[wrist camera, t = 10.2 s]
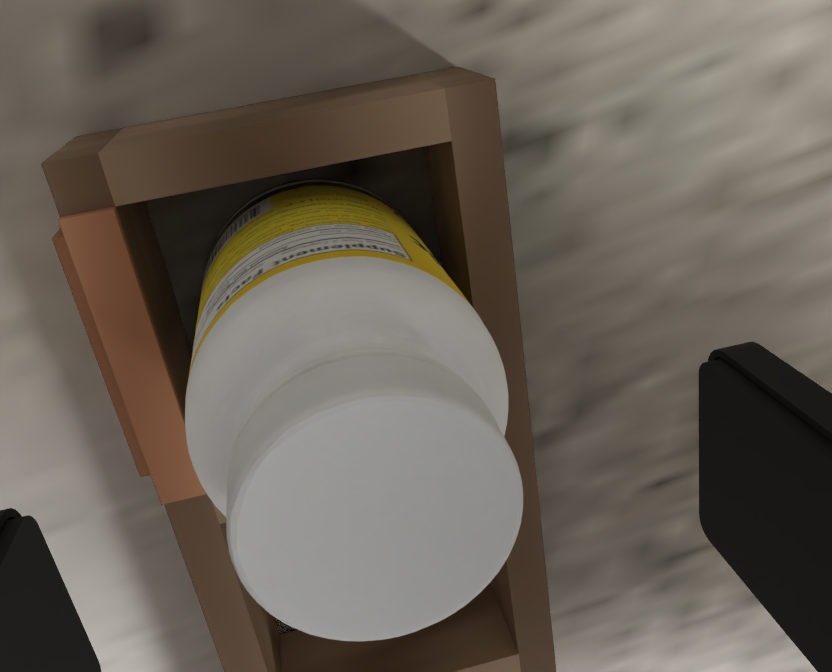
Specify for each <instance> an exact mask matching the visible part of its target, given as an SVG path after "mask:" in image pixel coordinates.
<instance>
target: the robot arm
mask: <svg viewBox="0 0 832 672" xmlns="http://www.w3.org/2000/svg"><path fill="white" fill-rule="evenodd" d="M699 515H700V521H701V525H702V528H703V531H704V533H705V535H706V537H707V538H708V539H709V541H710V542H711V543H712V545H713V546H714V547H715V548H716V549H717V551H718V552H719V553H720V554H721V555H722V557H723V558H724V559H725V560H726V561H727V563H728V564H729V565H730V566H731V567H732V569H733V570H734V571H735V572H736V574H737V575H738V576H739V577H740V578H741V580H742V581H743V582H744V583H745V584H746V586H747V587H748V588H749V589H750V590H751V592H752V593H753V594H754V595H755V596H756V598H757V599H758V600H759V601H760V602H761V604H762V605H763V606H764V607H765V609H766V610H767V611H768V612H769V613H770V615H771V616H772V617H773V618H774V619H775V621H776V622H777V623H778V624H779V625H780V627H781V628H782V629H783V630H784V631H785V633H786V634H787V635H788V636H789V637H790V639H791V640H792V641H793V642H794V644H795V645H796V646H797V647H798V648H799V650H800V651H801V652H802V653H803V654H804V656H805V657H806V658H807V659H808V660H809V662H810V663H811V664H812V665H813V666H814V668H815V669H816V670H817V671H818V672H832V394H831V393H830V392H828V391H827V390H825V389H824V388H822V387H821V386H819V385H818V384H816V383H815V382H814V381H812V380H811V379H809V378H808V377H806V376H805V375H803V374H802V373H800V372H799V371H797V370H796V369H794V368H793V367H791V366H790V365H789V364H787V363H786V362H784V361H783V360H781V359H780V358H778V357H777V356H775V355H774V354H772V353H771V352H769V351H768V350H767V349H765V348H764V347H762V346H761V345H759V344H757V343H755V342H748V343H743V344H739V345H734V346H730V347H726V348H721V349H717V350H714V351H713V352H711V354H710V356H709V359H708V362H704V363H702V364H701V366H700V369H699ZM0 672H101V668H100V664H99V661H98V659H97V656H96V654H95V652H94V650H93V647H92V645H91V643H90V641H89V638H88V636H87V634H86V632H85V629H84V627H83V625H82V623H81V620H80V618H79V616H78V614H77V611H76V609H75V607H74V605H73V602H72V600H71V598H70V596H69V593H68V591H67V589H66V586H65V584H64V582H63V580H62V577H61V575H60V573H59V571H58V568H57V566H56V564H55V562H54V559H53V557H52V555H51V553H50V550H49V548H48V546H47V544H46V541H45V539H44V537H43V535H42V532H41V530H40V528H39V526H38V524H37V522H36V520H35V519H34V518H33V517H32V516H29V515H28V516H24V517H22V516H21V515H20V514H19V513H18V512H17V511H16V510H15V509H12V508H10V509H5V510H1V511H0Z"/></svg>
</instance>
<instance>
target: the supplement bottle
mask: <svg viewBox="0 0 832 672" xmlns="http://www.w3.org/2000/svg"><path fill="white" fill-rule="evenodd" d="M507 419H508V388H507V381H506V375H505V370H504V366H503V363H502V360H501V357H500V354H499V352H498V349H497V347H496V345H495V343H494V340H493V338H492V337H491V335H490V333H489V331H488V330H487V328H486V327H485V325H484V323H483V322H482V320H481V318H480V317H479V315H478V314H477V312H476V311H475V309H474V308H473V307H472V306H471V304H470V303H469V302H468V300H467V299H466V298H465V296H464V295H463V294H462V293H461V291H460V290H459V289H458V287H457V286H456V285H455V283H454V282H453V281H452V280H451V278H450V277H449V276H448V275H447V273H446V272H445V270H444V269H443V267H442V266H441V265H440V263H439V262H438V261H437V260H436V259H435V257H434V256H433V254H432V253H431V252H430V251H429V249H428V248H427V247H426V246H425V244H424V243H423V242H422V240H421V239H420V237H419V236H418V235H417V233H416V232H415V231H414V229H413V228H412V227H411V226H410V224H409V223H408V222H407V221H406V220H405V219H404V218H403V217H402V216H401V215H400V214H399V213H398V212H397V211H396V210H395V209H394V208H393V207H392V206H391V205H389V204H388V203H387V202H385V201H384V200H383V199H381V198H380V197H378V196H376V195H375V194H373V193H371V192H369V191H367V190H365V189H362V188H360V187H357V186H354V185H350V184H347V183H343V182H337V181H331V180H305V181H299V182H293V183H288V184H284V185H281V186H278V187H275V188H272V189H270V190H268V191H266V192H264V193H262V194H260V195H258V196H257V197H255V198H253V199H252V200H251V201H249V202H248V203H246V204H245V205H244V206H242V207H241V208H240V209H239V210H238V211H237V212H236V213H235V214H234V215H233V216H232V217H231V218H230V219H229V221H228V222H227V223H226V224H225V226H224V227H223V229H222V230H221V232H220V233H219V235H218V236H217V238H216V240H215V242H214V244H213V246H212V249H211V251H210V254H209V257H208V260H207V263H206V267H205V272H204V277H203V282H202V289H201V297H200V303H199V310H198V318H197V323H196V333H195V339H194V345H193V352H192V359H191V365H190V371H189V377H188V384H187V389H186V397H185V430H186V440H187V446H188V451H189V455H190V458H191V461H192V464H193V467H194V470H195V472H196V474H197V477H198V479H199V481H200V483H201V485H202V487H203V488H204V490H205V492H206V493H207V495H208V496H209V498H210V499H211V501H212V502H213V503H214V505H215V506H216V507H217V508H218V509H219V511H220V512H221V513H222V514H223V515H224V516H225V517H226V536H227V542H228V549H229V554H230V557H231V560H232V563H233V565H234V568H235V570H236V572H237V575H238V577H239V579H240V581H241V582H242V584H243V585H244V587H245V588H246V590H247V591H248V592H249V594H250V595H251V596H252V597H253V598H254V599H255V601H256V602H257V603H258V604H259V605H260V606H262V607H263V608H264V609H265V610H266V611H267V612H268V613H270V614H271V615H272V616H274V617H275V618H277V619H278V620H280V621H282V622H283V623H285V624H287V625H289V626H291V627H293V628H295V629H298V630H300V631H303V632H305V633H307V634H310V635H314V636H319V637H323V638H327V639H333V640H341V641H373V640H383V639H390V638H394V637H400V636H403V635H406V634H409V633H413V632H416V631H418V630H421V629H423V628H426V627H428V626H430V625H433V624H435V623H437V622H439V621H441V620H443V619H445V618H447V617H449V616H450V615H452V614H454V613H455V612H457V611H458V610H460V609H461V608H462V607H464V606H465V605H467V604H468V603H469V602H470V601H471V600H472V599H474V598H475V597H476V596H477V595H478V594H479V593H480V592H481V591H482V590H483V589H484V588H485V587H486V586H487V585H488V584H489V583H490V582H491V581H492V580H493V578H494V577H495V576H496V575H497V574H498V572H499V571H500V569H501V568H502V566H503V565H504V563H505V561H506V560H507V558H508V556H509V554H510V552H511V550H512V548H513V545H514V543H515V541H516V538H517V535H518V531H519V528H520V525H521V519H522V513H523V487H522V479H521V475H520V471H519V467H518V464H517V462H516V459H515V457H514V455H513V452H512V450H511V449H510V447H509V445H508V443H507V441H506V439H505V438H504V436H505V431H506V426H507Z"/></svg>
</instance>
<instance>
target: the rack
mask: <svg viewBox="0 0 832 672" xmlns="http://www.w3.org/2000/svg"><path fill="white" fill-rule="evenodd" d="M423 146H425V148H426V155H427V162H428V169H429V176H430V183H431V190H432V197H433V203H434V210H435V217H436V224H437V231H438V238H439V245H440V251H441V258H442V265H443V269H444V270H445V272H446V273H447V275H448V276H449V277H450V278H451V280H452V281H453V282H454V283H455V285H456V286H457V287H458V289H459V290H460V291H461V293H462V294H463V295H464V296H465V298H466V299H467V300H468V302H469V303H470V304H471V306H472V307H473V308H474V309H475V311H476V312H477V314H478V315H479V317H480V318H481V320H482V322H483V323H484V325H485V327H486V328H487V330H488V331H489V333H490V335H491V337H492V338H493V340H494V343H495V345H496V347H497V349H498V352H499V354H500V357H501V360H502V363H503V366H504V370H505V375H506V381H507V388H508V419H507V426H506V431H505V436H504V438H505V439H506V441H507V443H508V445H509V447H510V449H511V450H512V452H513V455H514V457H515V459H516V462H517V464H518V467H519V471H520V475H521V479H522V487H523V513H522V519H521V525H520V528H519V531H518V535H517V538H516V541H515V543H514V545H513V548H512V550H511V552H510V554H509V556H508V558H507V560H506V561H505V563H504V565H503V566H502V568H501V569H500V571H499V572H498V574H497V575H496V576H495V577H494V578H493V580H492V581H491V582H490V583H489V584H488V585H487V586H486V587H485V588H484V589H483V590H482V591H481V592H480V593H479V594H478V595H477V596H476V597H475V598H474V599H472V600H471V601H470V602H469V603H468V604H467V605H465V606H464V607H462V608H461V609H460V610H458V611H457V612H455V613H454V614H452V615H450V616H449V617H447V618H445V619H443V620H441V621H439V622H437V623H435V624H433V625H430V626H428V627H426V628H423V629H421V630H418V631H416V632H413V633H409V634H406V635H403V636H400V637H394V638H390V639H383V640H373V641H341V640H333V639H327V638H323V637H319V636H314V635H310V634H307V633H305V632H303V631H300V630H294V631H290V632H287V633H283V634H279V631H278V628H277V624H276V621H275V618H274V616H272V615H271V614H270V613H268V612H267V611H266V610H265V609H264V608H263V607H262V606H260V605H259V604H258V603H257V602H256V601H255V599H254V598H253V597H252V596H251V595H250V594H249V592H248V591H247V590H246V588H245V587H244V585H243V584H242V582H241V581H240V579H239V577H238V575H237V572H236V570H235V568H234V565H233V563H232V560H231V557H230V554H229V549H228V542H227V536H226V517H225V516H224V515H223V514H222V513H221V512H220V511H219V509H218V508H217V507H216V506H215V505H214V503H213V502H212V501H211V499H210V498H209V496H208V495H207V493H206V492H205V490H204V488H203V487H202V485H201V483H200V481H199V479H198V477H197V474H196V472H195V470H194V467H193V464H192V461H191V458H190V455H189V451H188V446H187V440H186V430H185V397H186V389H187V384H188V377H189V371H190V365H191V359H192V350H191V347H190V343H189V340H188V337H187V334H186V330H185V327H184V324H183V321H182V318H181V314H180V311H179V308H178V305H177V301H176V298H175V295H174V292H173V288H172V285H171V282H170V279H169V276H168V272H167V269H166V266H165V263H164V259H163V256H162V253H161V250H160V246H159V243H158V240H157V237H156V234H155V230H154V227H153V224H152V221H151V217H150V214H149V211H148V208H147V204H146V200H152V199H157V198H162V197H167V196H172V195H177V194H182V193H187V192H193V191H198V190H203V189H208V188H213V187H218V186H223V185H229V184H234V183H239V182H244V181H249V180H254V179H259V178H264V177H270V176H275V175H280V174H285V173H290V172H295V171H300V170H305V169H311V168H316V167H321V166H326V165H331V164H336V163H341V162H347V161H352V160H357V159H362V158H367V157H372V156H377V155H382V154H388V153H393V152H398V151H403V150H408V149H413V148H418V147H423ZM41 165H42V167H43V170H44V173H45V176H46V178H47V181H48V184H49V187H50V189H51V192H52V195H53V198H54V201H55V203H56V206H57V209H58V212H59V214H60V218H59V220H58V221H59V224H60V227H61V228H60V230H59V231H58V232H57V233H56V234H55V236H54V237H53V238H52V240H53V243H54V245H55V248H56V251H57V253H58V256H59V259H60V261H61V264H62V267H63V270H64V272H65V275H66V278H67V280H68V283H69V286H70V288H71V291H72V294H73V297H74V299H75V302H76V305H77V307H78V310H79V313H80V315H81V318H82V321H83V324H84V326H85V329H86V332H87V334H88V337H89V340H90V342H91V345H92V348H93V351H94V353H95V356H96V359H97V361H98V364H99V367H100V369H101V372H102V375H103V377H104V380H105V383H106V386H107V388H108V391H109V394H110V396H111V399H112V402H113V404H114V407H115V410H116V413H117V415H118V418H119V421H120V423H121V426H122V429H123V431H124V434H125V437H126V440H127V442H128V445H129V448H130V450H131V453H132V456H133V458H134V461H135V464H136V466H137V469H138V472H139V475H140V477H143V476H147V475H151V477H152V480H153V483H154V485H155V488H156V491H157V494H158V496H159V499H160V502H161V505H163V504H164V505H165V508H166V511H167V513H168V516H169V519H170V522H171V524H172V527H173V530H174V533H175V535H176V538H177V541H178V544H179V547H180V549H181V552H182V555H183V558H184V560H185V563H186V566H187V569H188V571H189V574H190V577H191V580H192V583H193V585H194V588H195V591H196V594H197V596H198V599H199V602H200V605H201V607H202V610H203V613H204V616H205V618H206V621H207V624H208V627H209V630H210V632H211V635H212V638H213V641H214V643H215V646H216V649H217V652H218V654H219V657H220V660H221V663H222V666H223V668H224V671H225V672H556V664H555V655H554V645H553V635H552V626H551V616H550V606H549V597H548V587H547V577H546V567H545V558H544V548H543V538H542V529H541V519H540V509H539V500H538V490H537V480H536V471H535V461H534V451H533V442H532V432H531V422H530V412H529V403H528V393H527V383H526V374H525V364H524V354H523V345H522V335H521V325H520V316H519V306H518V296H517V286H516V277H515V267H514V257H513V248H512V238H511V228H510V219H509V209H508V199H507V190H506V180H505V170H504V161H503V151H502V141H501V131H500V122H499V112H498V102H497V93H496V83H495V79H493V78H490V77H487V76H484V75H481V74H478V73H475V72H472V71H469V70H466V69H463V68H460V67H454V68H448V69H443V70H437V71H432V72H426V73H421V74H416V75H410V76H405V77H399V78H394V79H388V80H383V81H377V82H372V83H367V84H361V85H356V86H350V87H345V88H339V89H334V90H328V91H323V92H318V93H312V94H307V95H301V96H296V97H290V98H285V99H280V100H274V101H269V102H263V103H258V104H252V105H247V106H241V107H236V108H231V109H225V110H220V111H214V112H209V113H203V114H198V115H192V116H187V117H182V118H176V119H171V120H165V121H160V122H154V123H149V124H144V125H138V126H133V127H127V128H122V129H116V130H111V131H105V132H100V133H95V134H89V135H84V136H78V137H75V138H74V139H72V140H71V141H70V142H69V143H67V144H66V145H65V146H63V147H62V148H61V149H60V150H58V151H57V152H56V153H54V154H53V155H52V156H51V157H49V158H48V159H47V160H45V161H44V162H43V163H42V164H41Z"/></svg>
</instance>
